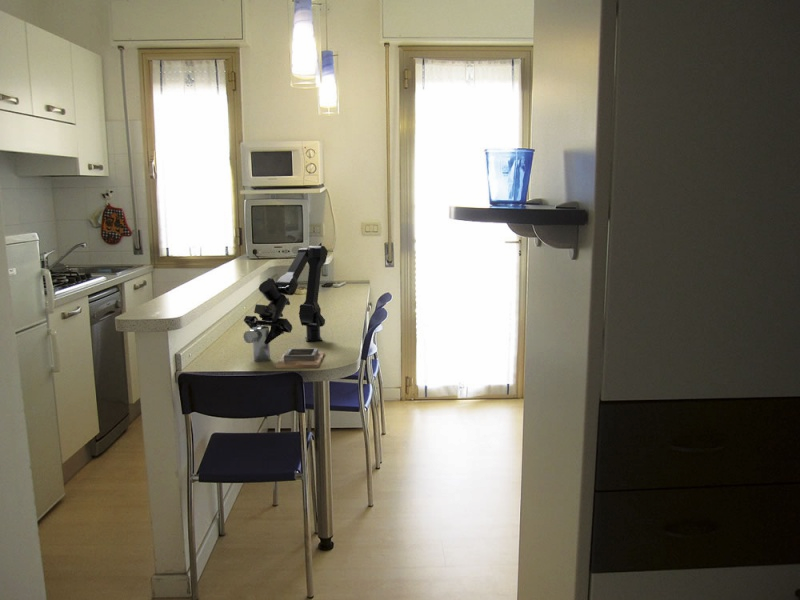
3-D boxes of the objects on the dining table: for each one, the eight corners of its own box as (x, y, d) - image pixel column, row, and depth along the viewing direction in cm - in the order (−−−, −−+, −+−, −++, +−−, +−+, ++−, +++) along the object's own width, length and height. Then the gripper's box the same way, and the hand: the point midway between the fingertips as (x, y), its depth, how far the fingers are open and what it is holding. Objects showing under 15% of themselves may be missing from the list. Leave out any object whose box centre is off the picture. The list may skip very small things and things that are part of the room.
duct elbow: (260, 356, 240) (258, 325, 238) (273, 358, 238) (272, 326, 235) (243, 363, 231) (241, 330, 229) (256, 365, 229) (254, 331, 227)
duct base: (284, 354, 242) (284, 347, 242) (324, 354, 242) (324, 346, 242) (275, 368, 225) (275, 359, 224) (318, 367, 224) (317, 359, 224)
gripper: (245, 294, 240) (227, 328, 232) (286, 297, 232) (269, 333, 224) (259, 311, 248) (242, 345, 240) (299, 314, 240) (283, 349, 232)
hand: (258, 343), depth 234 cm, fingers closed on duct elbow, 6 cm apart
